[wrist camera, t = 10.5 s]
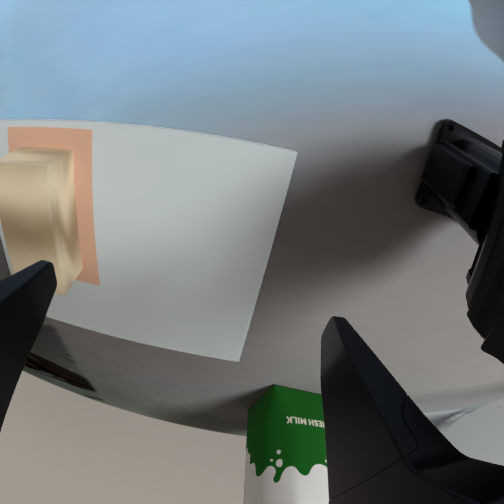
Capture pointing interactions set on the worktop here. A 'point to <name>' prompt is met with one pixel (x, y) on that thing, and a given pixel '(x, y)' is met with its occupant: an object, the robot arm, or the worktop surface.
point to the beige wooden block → (41, 211)
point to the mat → (165, 229)
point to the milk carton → (286, 449)
